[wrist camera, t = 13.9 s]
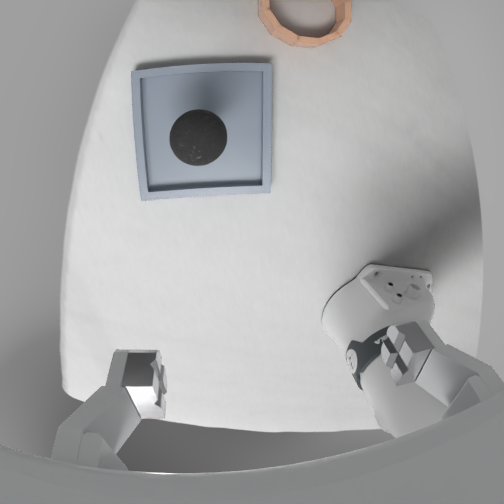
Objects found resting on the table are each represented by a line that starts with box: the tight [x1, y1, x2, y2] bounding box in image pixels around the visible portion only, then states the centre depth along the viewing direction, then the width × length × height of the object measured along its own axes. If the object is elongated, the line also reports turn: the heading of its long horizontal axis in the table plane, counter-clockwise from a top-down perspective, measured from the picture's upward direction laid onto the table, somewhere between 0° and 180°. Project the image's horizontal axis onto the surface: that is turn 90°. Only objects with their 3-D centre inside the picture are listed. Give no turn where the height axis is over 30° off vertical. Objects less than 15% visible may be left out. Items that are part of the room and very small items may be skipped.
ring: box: [258, 0, 351, 48], centre depth 27 cm, size 11×11×3 cm
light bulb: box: [169, 109, 227, 166], centre depth 30 cm, size 6×6×10 cm
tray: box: [131, 63, 272, 201], centre depth 34 cm, size 16×16×2 cm
